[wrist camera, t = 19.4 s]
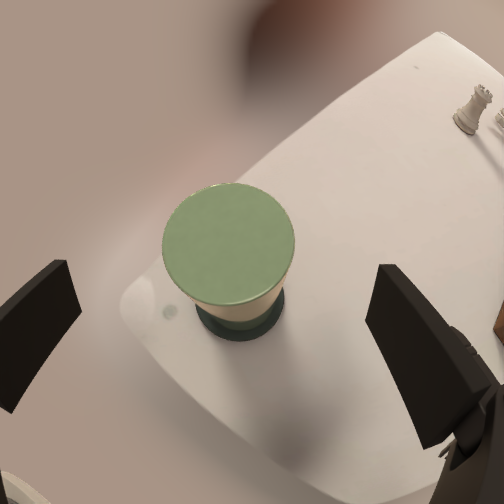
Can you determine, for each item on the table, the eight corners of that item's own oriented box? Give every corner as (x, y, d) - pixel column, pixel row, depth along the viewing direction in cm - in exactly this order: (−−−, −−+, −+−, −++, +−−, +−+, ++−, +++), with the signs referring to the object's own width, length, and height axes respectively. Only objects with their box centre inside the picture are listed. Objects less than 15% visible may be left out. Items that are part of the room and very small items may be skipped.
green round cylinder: (239, 345, 18) (221, 336, 9) (191, 294, 19) (137, 237, 10) (290, 296, 19) (322, 239, 10) (242, 249, 21) (232, 163, 11)
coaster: (237, 359, 18) (237, 359, 18) (178, 295, 20) (177, 293, 19) (301, 298, 20) (302, 296, 19) (241, 239, 21) (241, 237, 21)
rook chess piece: (452, 110, 29) (472, 76, 22) (473, 126, 28) (495, 93, 21) (452, 124, 28) (475, 86, 20) (475, 140, 27) (499, 106, 19)
